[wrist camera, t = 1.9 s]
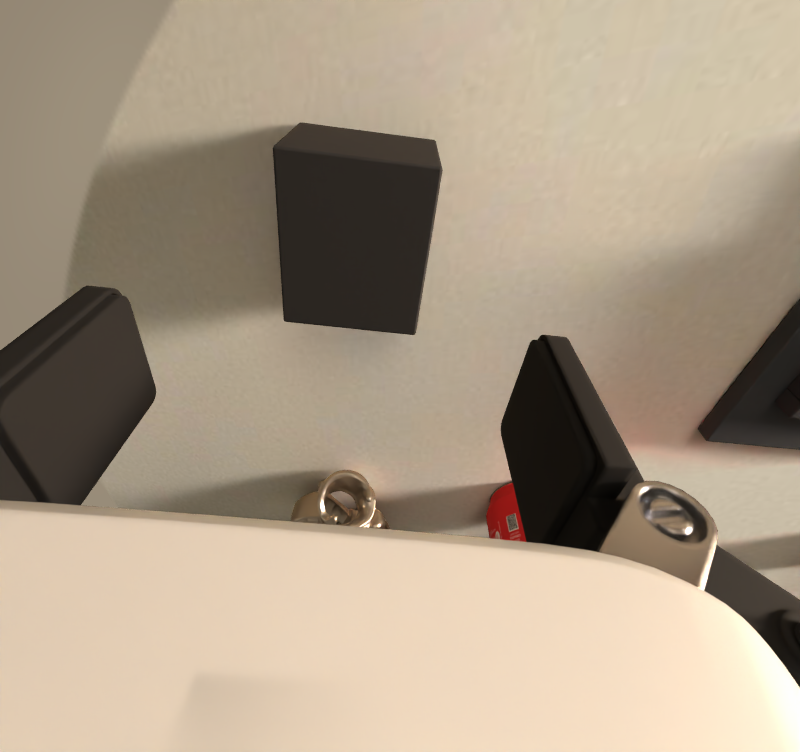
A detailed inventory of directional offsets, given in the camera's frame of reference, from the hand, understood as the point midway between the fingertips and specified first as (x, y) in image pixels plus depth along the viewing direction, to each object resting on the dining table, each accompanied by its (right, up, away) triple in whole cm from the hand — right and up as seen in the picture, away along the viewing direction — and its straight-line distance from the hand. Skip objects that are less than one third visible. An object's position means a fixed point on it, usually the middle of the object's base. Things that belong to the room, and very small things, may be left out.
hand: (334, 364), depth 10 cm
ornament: (-2, -9, +20) cm, 22 cm away
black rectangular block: (0, +6, +7) cm, 10 cm away
